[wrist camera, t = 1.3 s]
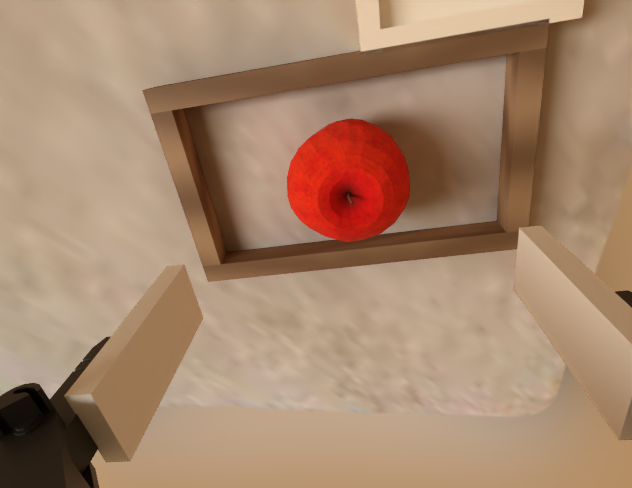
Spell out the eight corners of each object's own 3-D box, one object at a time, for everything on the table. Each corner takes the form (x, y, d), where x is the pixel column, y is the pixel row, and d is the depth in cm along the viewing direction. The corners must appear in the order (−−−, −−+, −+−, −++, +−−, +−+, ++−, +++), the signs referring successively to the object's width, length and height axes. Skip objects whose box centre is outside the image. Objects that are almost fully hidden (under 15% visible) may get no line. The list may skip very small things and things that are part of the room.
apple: (297, 215, 31) (285, 262, 24) (289, 112, 27) (273, 135, 21) (398, 214, 30) (413, 262, 24) (404, 108, 27) (425, 130, 20)
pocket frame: (155, 86, 27) (142, 90, 25) (534, 20, 24) (549, 18, 22) (215, 269, 34) (208, 281, 32) (515, 236, 30) (526, 248, 29)
